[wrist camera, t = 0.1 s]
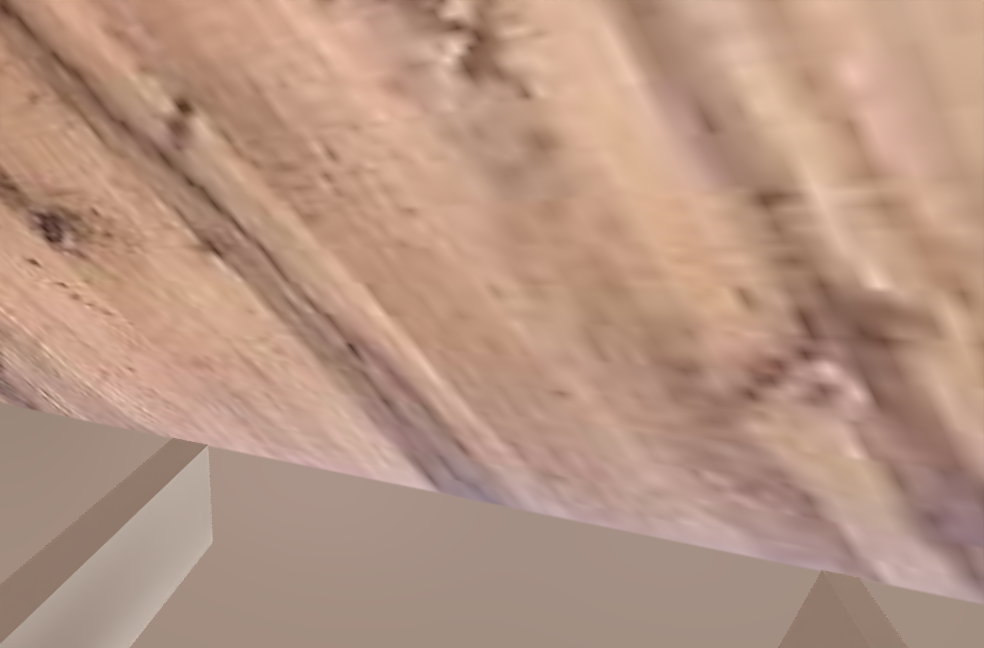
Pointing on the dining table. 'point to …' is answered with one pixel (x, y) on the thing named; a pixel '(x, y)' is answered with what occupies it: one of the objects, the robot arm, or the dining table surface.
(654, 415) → the dining table surface
